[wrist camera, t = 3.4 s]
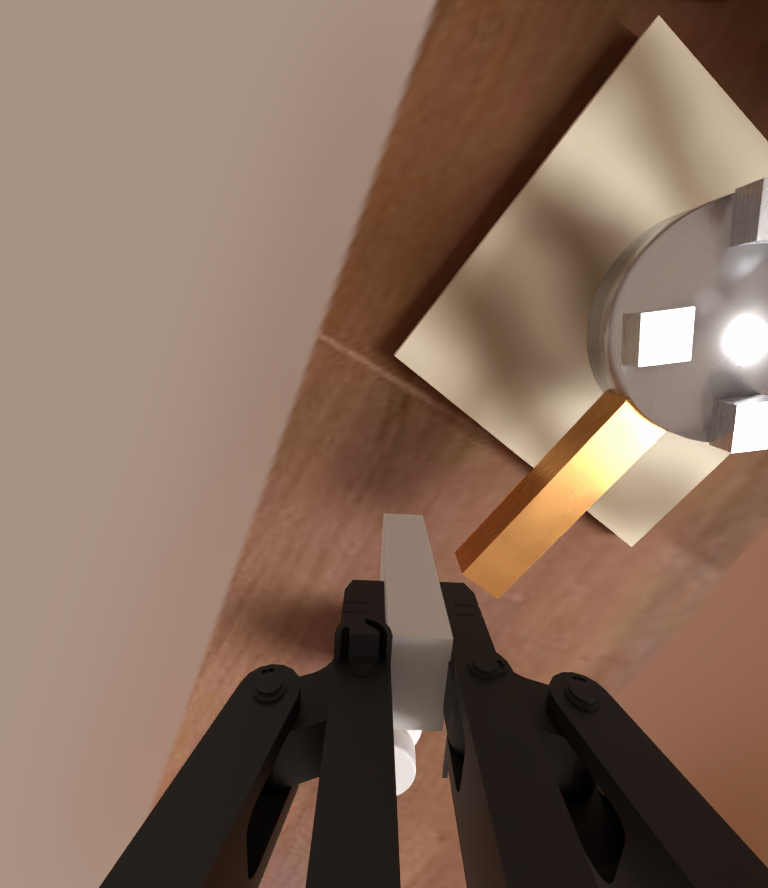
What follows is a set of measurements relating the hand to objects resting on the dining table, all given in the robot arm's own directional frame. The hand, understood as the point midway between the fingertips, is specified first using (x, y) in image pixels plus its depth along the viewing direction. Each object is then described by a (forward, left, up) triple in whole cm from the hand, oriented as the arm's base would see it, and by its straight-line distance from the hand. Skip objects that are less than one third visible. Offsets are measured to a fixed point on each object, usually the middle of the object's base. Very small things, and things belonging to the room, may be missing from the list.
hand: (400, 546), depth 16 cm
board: (-15, +6, -11) cm, 20 cm away
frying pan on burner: (-10, +6, -6) cm, 13 cm away
